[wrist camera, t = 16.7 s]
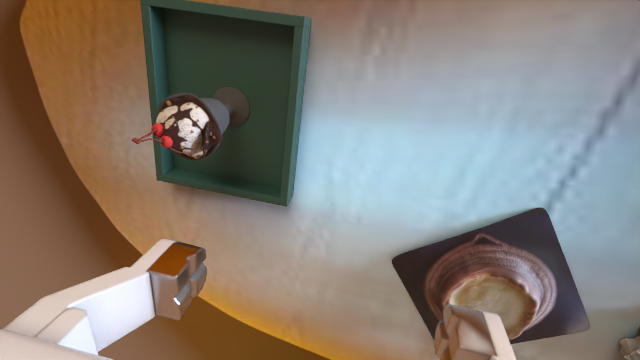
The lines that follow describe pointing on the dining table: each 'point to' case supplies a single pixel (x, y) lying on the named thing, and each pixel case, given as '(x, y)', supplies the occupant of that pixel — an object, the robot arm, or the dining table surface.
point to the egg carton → (630, 348)
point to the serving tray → (237, 72)
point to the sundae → (198, 122)
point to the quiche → (498, 278)
